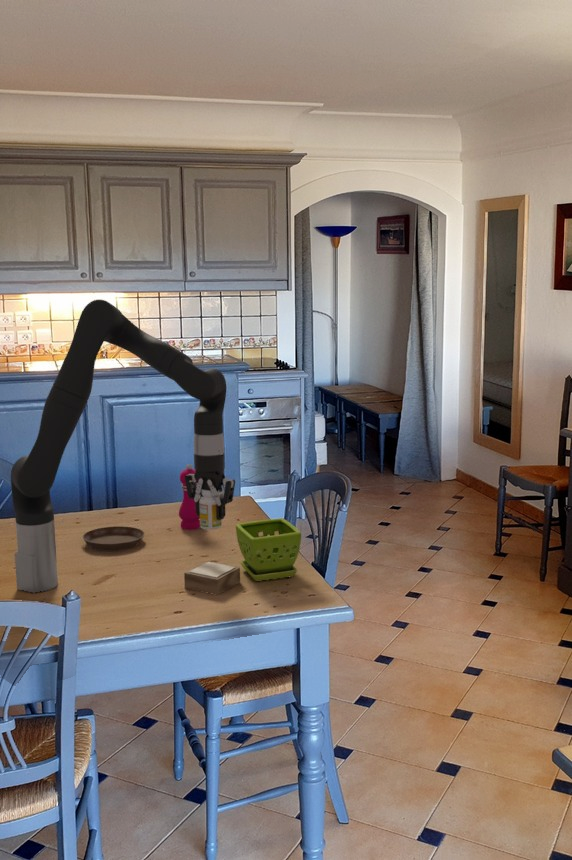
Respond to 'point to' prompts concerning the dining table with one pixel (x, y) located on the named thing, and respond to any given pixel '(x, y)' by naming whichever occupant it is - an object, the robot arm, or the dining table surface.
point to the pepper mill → (188, 504)
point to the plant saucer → (113, 538)
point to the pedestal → (212, 577)
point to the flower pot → (268, 548)
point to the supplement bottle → (208, 511)
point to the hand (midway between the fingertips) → (210, 517)
